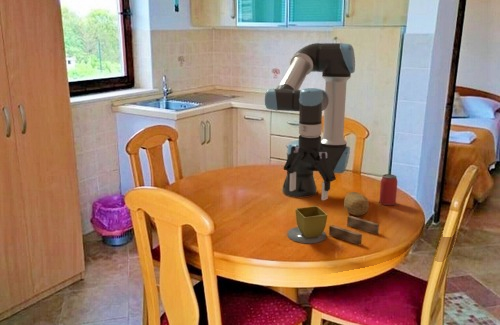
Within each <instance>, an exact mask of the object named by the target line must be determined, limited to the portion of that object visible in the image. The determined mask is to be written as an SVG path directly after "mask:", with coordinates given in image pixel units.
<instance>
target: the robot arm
mask: <svg viewBox="0 0 500 325" xmlns="http://www.w3.org/2000/svg"><path fill="white" fill-rule="evenodd" d="M355 71H356V57H355V50H354V47H353V45H352V44H350V43H342V42H340V43H335V42H334V43H332V42H330V43H327V42H321V43H320V42H315V43H311V44H308V45H306V46H303V47H302V48H300V49H298V50H297V51H296V52H295V53H294V54H293V56H292V58H291V59H290V61H289V67H288V69H287V71H286V72H285V74H284V75H283V77H282V79H281V80H280V82H279V84H278V86H276V88H268V89H267V90H266V91H265V95H264V106H265V107H266V109H267V110H271V111H272V110H273V111H276V112H278V111H283V112H299V114H298V120H299V121H298V135H299V136H298V140H294V141H291V142H290V143H288V145H287V149H286V150H287V152H286V162H285V164H284V166H283V170H284V171H286V176H285V178H284V183H283V185H282V193H283V194H284V195H286V196H289V197H293V198H308V197H312V196H315V195H316V194H317V190H318V189H317V185H316V181H315V178H314V172H318V173H319V175H320V176H321V178H322V180H323V181H321V201H325V200H328V198H329V191H330V190H331V182H333V181H335V180H336V179H337V177H336V174H343V173H344V172H345V171H346V170H347V166H348V163H349V158H350V153H351V148H350V146H347V144H348V143H347V141H346V140H345V138H344V134H345V133H344V131H345V130H344V129H345V114H346V97H347V83H348V81H349V79H351V76H352V75H351V74H354V73H355ZM312 72H313V73H315V72H317V73H322V74H321V77H322V78H323V79H324V81H325V83H324V84H325V87H324V88H325V89H320V88H316V87H313V88H312V87H308V88H307V87H306V88H302V89H300V88H301V87H302V84H303V83H304V81H305V79H306V77H307V76H308V75H310V73H312ZM322 116H323V118H322ZM322 119H323V121H322ZM322 123H323V124H322ZM322 126H323V128H322ZM321 135H322V136H321Z"/></svg>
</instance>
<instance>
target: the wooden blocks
mask: <svg viewBox="0 0 500 325" xmlns="http://www.w3.org/2000/svg"><path fill="white" fill-rule="evenodd" d="M346 223H347V224H346V226H347V227H351V228H354V229H358V230H360V231H363V232H366V233H369V234H374V235H378V234H379V231H380V230H379V227H380V223H376V222H373V221H370V220H366V219H362V218H360V217H355V216H352V215H348V216H347V220H346ZM328 232H329V234H328V236H330V237H332V238H336V239H339V240H342V241H344V242H348V243H352V244H353V245H358V246H360V245H361V244H362V239H363V238H362V237H363V235H362V233H359V232H356V231H352V230H349V229H346V228H342V227H340V226H336V225H334V224H331V225H329V230H328Z"/></svg>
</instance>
